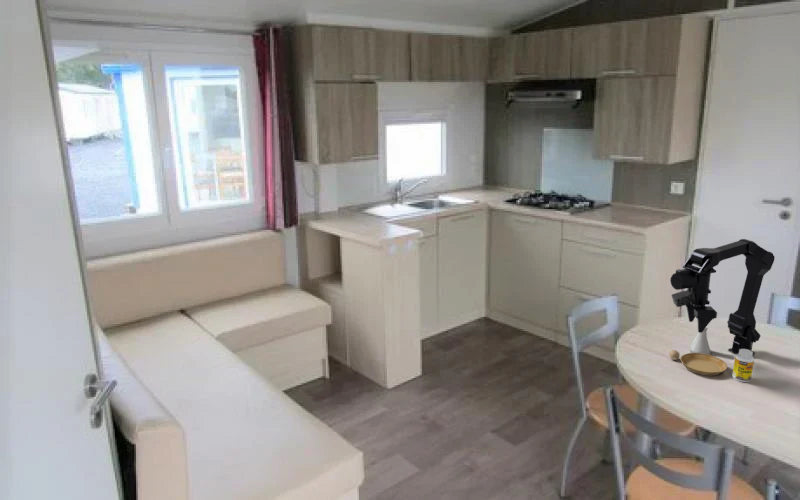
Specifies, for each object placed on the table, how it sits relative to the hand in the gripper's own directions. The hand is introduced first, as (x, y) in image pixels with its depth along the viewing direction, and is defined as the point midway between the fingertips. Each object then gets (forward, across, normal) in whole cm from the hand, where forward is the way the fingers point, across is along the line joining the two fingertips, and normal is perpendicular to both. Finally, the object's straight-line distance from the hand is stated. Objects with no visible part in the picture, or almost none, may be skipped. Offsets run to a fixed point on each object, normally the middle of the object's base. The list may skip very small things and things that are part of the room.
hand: (695, 326), depth 207 cm
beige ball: (+12, -1, -6) cm, 13 cm away
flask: (+14, -9, +6) cm, 18 cm away
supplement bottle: (+14, +12, +12) cm, 22 cm away
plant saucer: (+14, +5, +2) cm, 15 cm away
